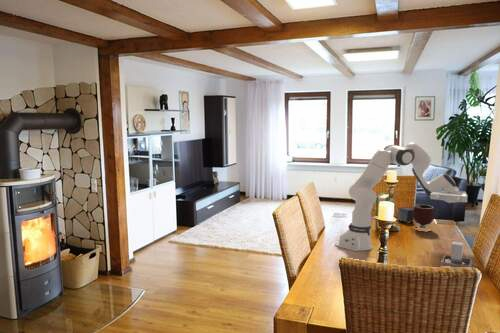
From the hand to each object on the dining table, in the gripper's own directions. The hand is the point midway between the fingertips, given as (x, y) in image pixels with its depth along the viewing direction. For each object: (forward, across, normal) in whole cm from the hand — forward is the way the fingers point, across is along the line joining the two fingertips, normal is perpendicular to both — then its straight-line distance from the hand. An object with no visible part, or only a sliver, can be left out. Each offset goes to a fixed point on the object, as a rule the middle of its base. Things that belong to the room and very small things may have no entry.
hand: (447, 199), depth 233 cm
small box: (-61, -35, +32) cm, 77 cm away
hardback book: (-36, -45, +32) cm, 66 cm away
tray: (+24, +9, +32) cm, 41 cm away
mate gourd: (-43, -20, +32) cm, 57 cm away
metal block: (+24, +9, +31) cm, 40 cm away
